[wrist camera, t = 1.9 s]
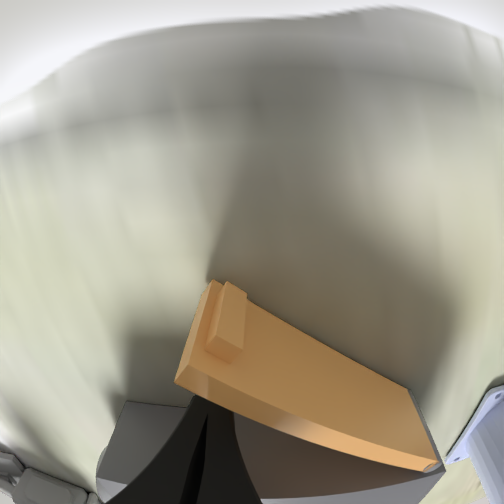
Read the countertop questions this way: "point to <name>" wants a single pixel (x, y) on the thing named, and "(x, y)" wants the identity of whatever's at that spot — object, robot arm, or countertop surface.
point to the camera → (38, 486)
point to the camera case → (264, 463)
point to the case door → (299, 384)
